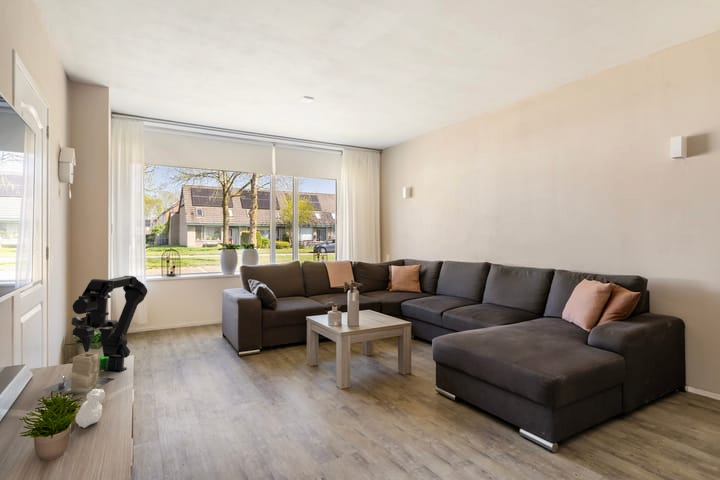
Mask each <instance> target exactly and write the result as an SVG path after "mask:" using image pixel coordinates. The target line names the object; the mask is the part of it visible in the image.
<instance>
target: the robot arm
mask: <svg viewBox="0 0 720 480" xmlns="http://www.w3.org/2000/svg"><path fill="white" fill-rule="evenodd" d="M119 288H122V290H123V291H124V299H125V303H124V306H123V308H122V311H121V314H120V316H119V318H118V320H114V319H106V318H107V316H109V315H110V314H109V311H107V310H108V309H107V307H108V306H107V305H108V299H111V295H110V294H109V293H112V292H113V291H114V290H115V289H119ZM147 294H148V289H147V287H146V286H145V283H143V282H142V281H140V280H139V279H138V278H137V276H134V275H123V276H120V277H114V278H113V277H112V278H110V279H105V278H104V279H103V278H102V279H100V278H92V279H90V281H89V283H87V285H86V287H85V289H84V291H83V293H82V294H81V295H79V296H78V299H76V300H75V301H74V302H73V303H72V310H73V312H74V314H77V315H78V316H75V317H72V318H71V325H72V326H73V327H74V328H73V329H72V333H71V334H72V336H74V337H76V338H78V339H79V340H80V341H81V345H82V347H83V350H84V353H89V350H90V348H91V345H92V344H93V343H92V342H93V340H94V337H95V334H94V333H95V331H97V330H98V331H99V332H100V346H101V347H102V353H103V356H104V357H109V358H108V365H107V368H105V369H104V370H103V372H109V373H118V374H119V373H121V372H123V371H125V370H127V369H126V368H127V367H125V358H128V357H129V356H130V354H131V350H130V348H129V347H128V346H127V345H128V339H127V334H128V331H129V328H130V326H131V323H132V320H133V317H134V315H135V313H136V310H137V307H138V305H139V304H141V303H142V302H143V301H144V300H145V298H146V295H147ZM82 314H83V315H84V314H85V316H84V317H80V316H79V315H82ZM124 369H125V370H124ZM122 370H123V371H122ZM120 371H121V372H120Z"/></svg>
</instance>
